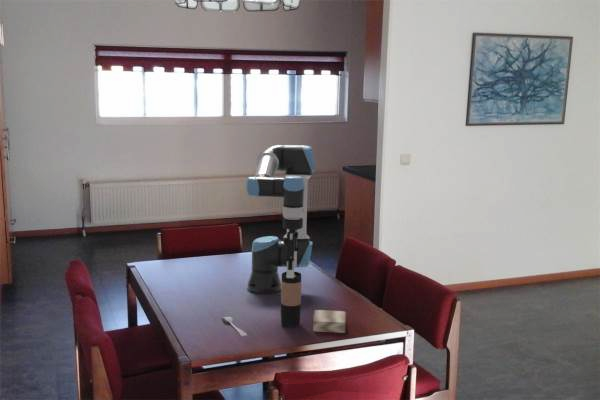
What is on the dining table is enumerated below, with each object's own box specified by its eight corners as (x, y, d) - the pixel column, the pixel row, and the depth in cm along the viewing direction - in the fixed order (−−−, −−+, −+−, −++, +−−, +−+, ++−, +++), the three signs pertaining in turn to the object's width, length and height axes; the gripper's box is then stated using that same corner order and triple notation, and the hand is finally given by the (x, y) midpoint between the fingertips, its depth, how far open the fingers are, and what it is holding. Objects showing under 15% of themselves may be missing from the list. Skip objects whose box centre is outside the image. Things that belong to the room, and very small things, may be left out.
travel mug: (279, 320, 247) (280, 271, 243) (299, 320, 248) (300, 271, 244) (281, 328, 240) (282, 277, 236) (301, 327, 240) (302, 277, 237)
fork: (241, 343, 231) (241, 336, 230) (219, 318, 248) (219, 312, 247) (248, 342, 233) (248, 335, 232) (225, 317, 250) (225, 311, 249)
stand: (313, 331, 237) (313, 321, 237) (314, 319, 249) (314, 309, 248) (345, 332, 237) (345, 322, 236) (345, 321, 248) (345, 311, 248)
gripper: (300, 224, 223) (299, 282, 227) (304, 211, 248) (303, 264, 252) (279, 224, 224) (278, 281, 228) (285, 210, 248) (284, 263, 252)
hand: (291, 272), depth 240 cm, fingers open, 13 cm apart
